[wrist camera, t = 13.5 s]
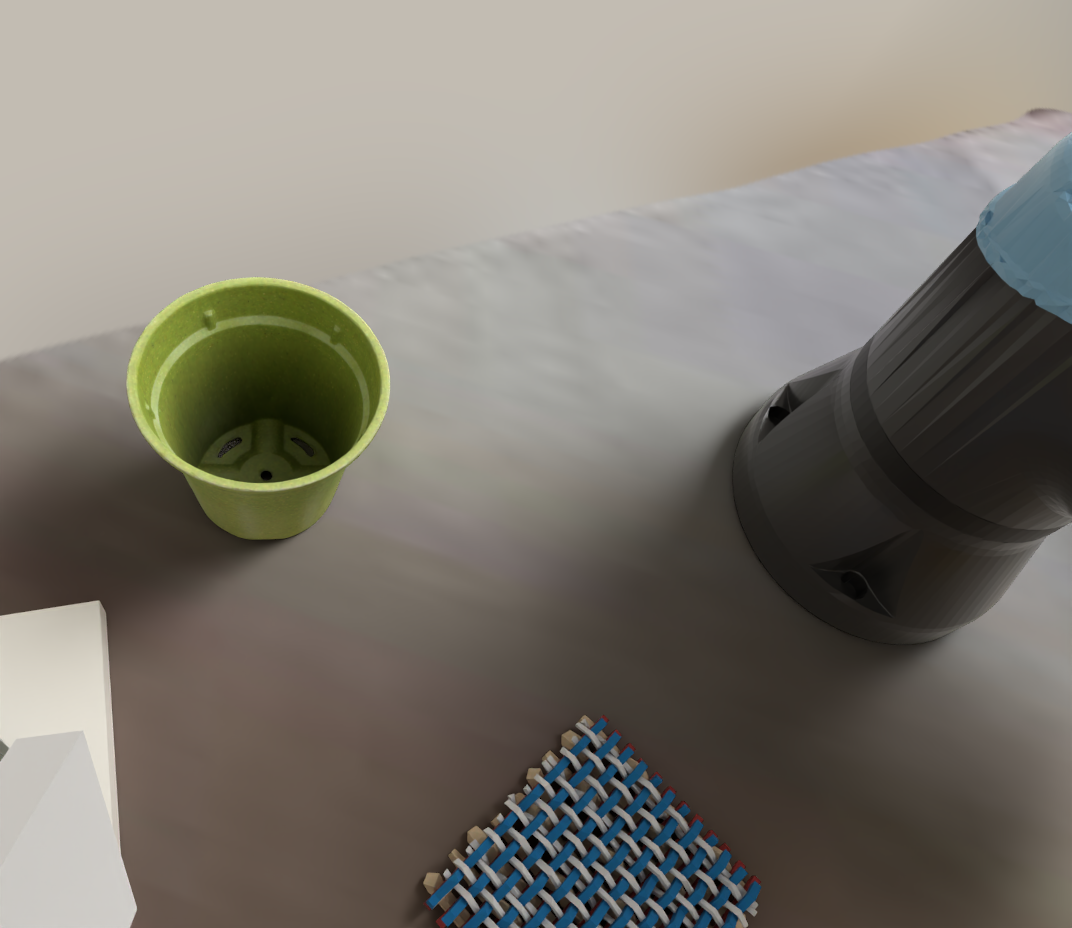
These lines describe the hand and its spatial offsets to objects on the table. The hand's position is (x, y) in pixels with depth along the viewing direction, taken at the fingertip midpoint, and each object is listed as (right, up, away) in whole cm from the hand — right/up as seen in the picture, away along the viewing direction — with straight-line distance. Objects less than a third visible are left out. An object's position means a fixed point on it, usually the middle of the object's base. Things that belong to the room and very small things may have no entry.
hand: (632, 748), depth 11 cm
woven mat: (+1, -14, +25) cm, 28 cm away
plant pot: (-13, +3, +29) cm, 32 cm away
